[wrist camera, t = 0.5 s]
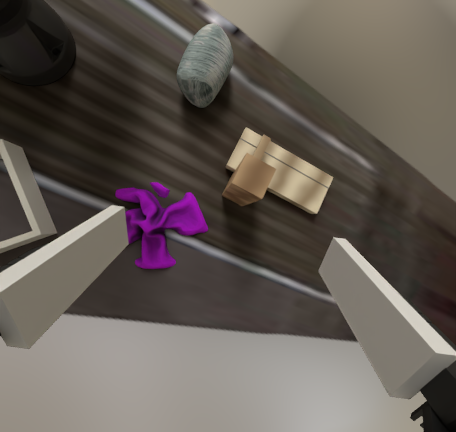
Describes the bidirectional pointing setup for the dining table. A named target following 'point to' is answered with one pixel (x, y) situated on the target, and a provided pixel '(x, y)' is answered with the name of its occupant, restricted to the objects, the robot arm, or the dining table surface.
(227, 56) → the spool
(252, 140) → the board
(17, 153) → the white shallow tray
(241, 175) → the tan angular block
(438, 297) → the dining table surface
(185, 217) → the cloth
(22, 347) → the robot arm
